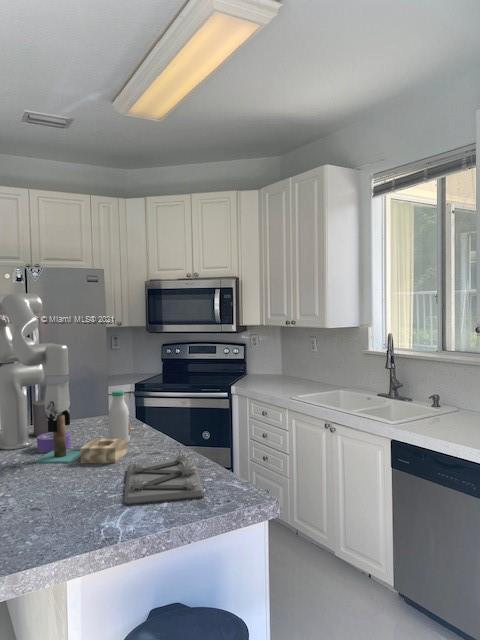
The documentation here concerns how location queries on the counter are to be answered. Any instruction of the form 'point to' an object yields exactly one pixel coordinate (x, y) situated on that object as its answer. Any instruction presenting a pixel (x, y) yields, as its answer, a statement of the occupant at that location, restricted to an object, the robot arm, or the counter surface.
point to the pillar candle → (40, 418)
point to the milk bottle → (119, 418)
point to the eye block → (103, 451)
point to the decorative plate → (163, 481)
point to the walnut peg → (60, 437)
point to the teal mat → (66, 459)
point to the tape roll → (50, 442)
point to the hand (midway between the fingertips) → (59, 428)
